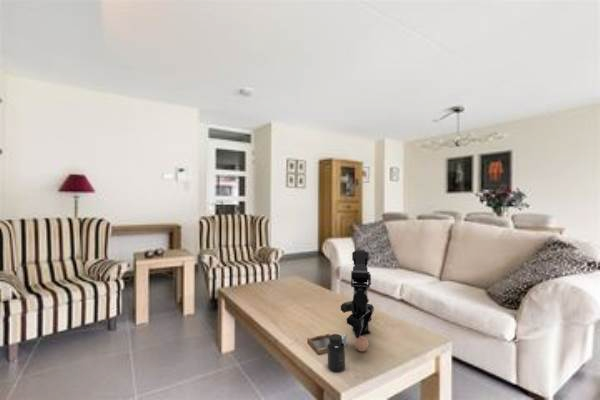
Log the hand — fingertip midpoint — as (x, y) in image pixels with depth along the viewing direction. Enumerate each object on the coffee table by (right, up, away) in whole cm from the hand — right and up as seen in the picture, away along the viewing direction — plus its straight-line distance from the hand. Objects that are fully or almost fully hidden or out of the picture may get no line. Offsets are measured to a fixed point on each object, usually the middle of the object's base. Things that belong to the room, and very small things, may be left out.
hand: (361, 333), depth 121 cm
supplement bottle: (-12, -8, -12) cm, 19 cm away
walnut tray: (-16, -8, +4) cm, 18 cm away
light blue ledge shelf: (-10, -7, 0) cm, 12 cm away
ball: (0, -7, 0) cm, 7 cm away
